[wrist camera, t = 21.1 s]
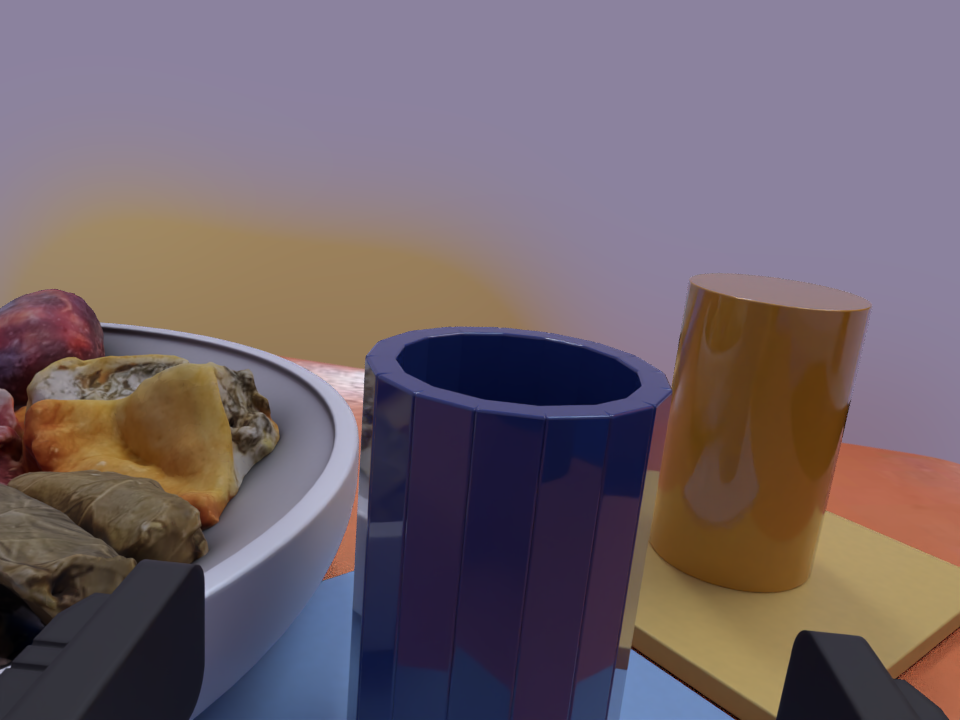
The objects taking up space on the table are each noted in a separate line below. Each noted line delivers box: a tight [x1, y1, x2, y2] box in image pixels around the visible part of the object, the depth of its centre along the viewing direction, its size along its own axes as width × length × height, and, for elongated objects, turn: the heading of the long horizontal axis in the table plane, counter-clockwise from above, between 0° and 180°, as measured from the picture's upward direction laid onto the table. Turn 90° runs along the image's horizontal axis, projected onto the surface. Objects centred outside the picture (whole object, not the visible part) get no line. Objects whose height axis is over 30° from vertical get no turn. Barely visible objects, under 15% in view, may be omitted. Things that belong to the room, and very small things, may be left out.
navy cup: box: [347, 327, 673, 720], centre depth 18 cm, size 6×6×10 cm
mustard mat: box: [631, 511, 960, 720], centre depth 31 cm, size 14×14×1 cm
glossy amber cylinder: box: [649, 273, 872, 593], centre depth 29 cm, size 6×6×10 cm
